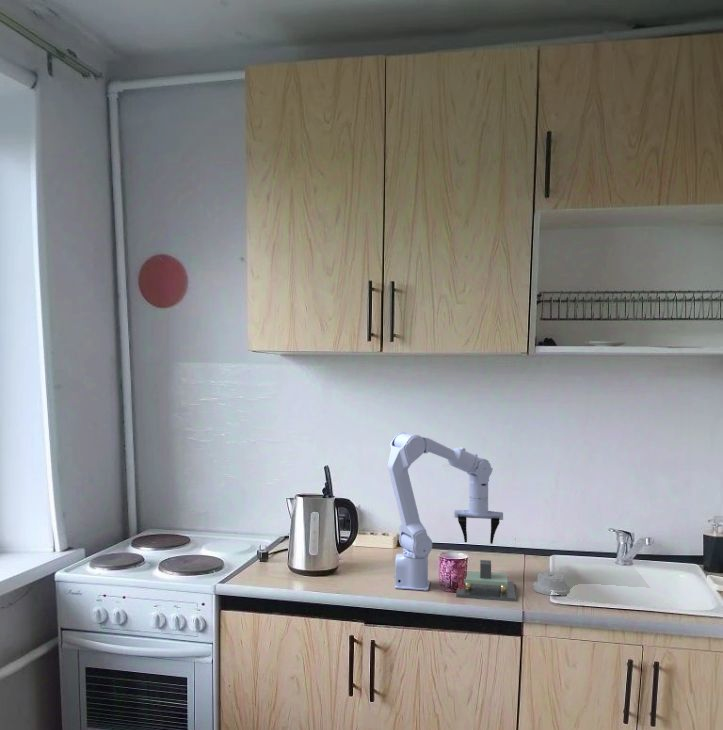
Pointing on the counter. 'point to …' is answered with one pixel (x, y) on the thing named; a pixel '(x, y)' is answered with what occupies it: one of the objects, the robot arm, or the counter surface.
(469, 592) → the plate
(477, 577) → the circuit board
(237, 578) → the counter surface
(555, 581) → the mechanical component
